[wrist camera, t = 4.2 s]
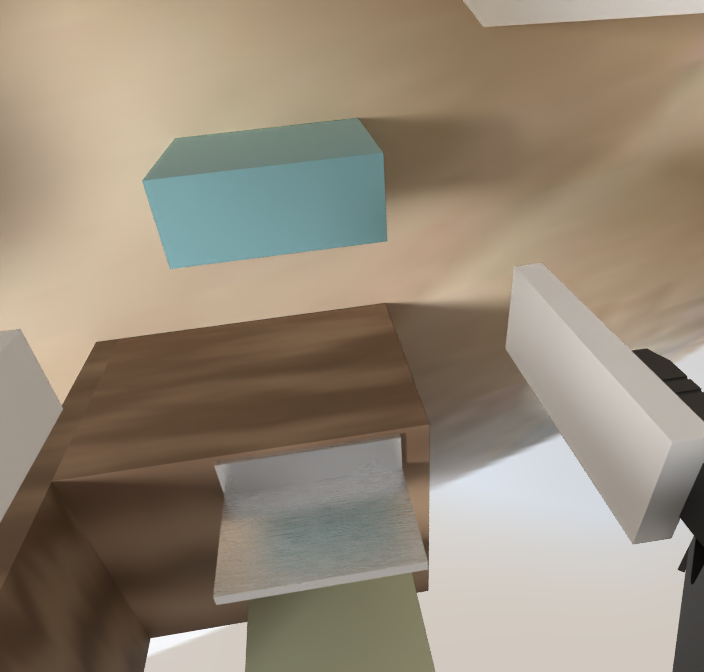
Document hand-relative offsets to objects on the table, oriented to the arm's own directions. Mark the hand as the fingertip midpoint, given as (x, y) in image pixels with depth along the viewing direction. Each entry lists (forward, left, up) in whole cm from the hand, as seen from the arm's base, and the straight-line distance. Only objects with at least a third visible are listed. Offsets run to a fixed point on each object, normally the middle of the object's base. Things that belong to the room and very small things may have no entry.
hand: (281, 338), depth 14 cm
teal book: (0, 0, -18) cm, 18 cm away
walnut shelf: (+17, -3, -18) cm, 25 cm away
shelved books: (+22, 0, -6) cm, 23 cm away
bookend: (+12, 0, -6) cm, 13 cm away
